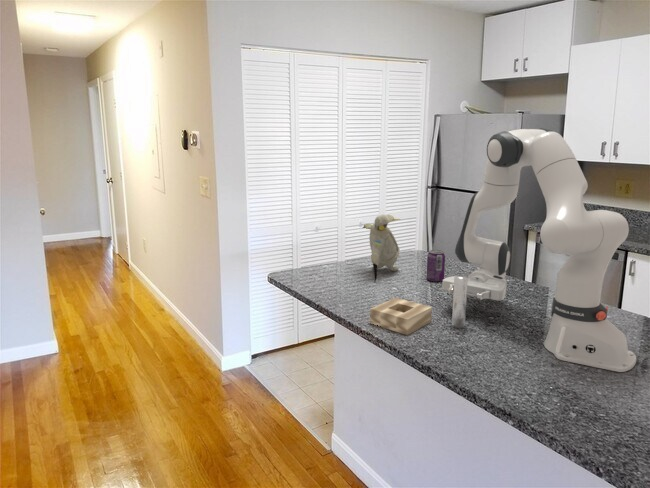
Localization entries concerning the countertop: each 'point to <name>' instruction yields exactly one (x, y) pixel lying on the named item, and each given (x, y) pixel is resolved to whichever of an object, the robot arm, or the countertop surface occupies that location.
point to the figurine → (382, 244)
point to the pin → (459, 301)
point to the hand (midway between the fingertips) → (464, 294)
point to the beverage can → (435, 265)
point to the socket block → (400, 315)
